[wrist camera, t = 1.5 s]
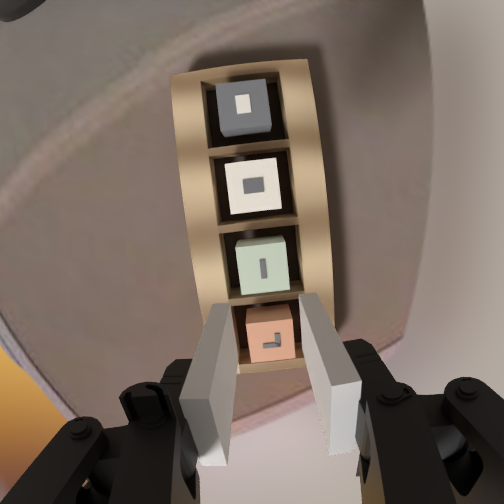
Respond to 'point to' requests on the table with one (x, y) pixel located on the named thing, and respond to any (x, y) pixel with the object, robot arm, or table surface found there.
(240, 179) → the cream key
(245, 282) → the sage key
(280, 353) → the terracotta key
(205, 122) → the keypad frame
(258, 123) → the charcoal key
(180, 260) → the table surface
